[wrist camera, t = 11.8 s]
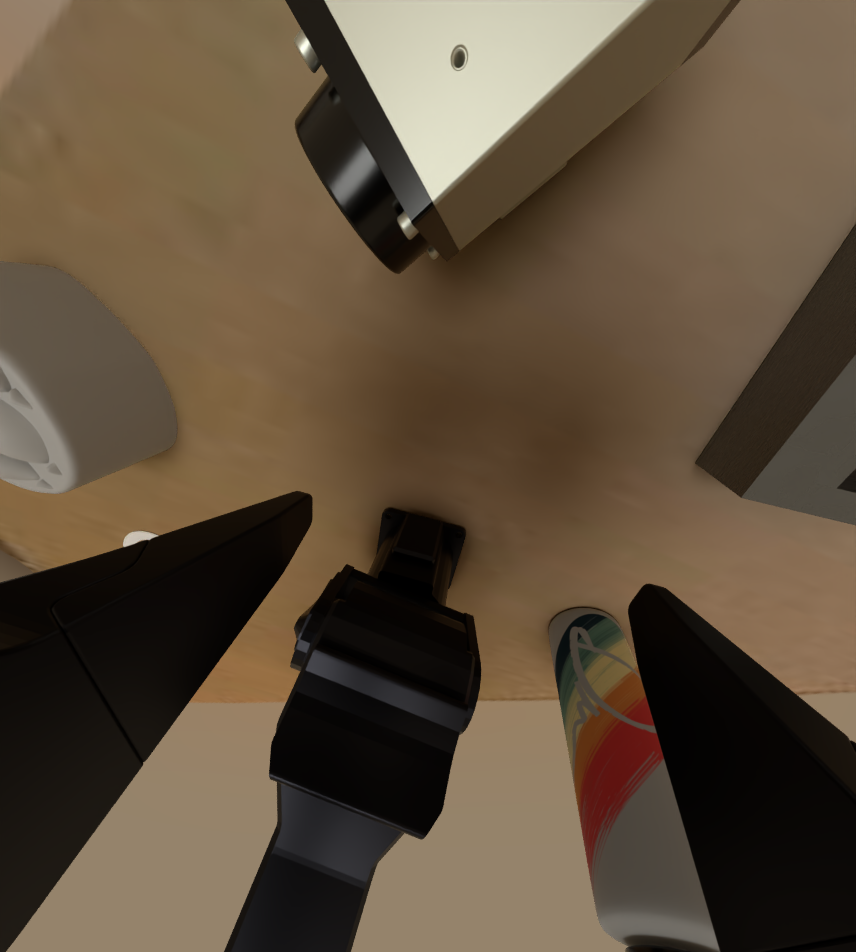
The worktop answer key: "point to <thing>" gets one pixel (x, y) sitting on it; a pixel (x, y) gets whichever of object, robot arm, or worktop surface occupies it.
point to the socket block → (800, 409)
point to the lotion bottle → (625, 793)
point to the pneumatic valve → (472, 102)
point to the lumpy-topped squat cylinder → (72, 385)
